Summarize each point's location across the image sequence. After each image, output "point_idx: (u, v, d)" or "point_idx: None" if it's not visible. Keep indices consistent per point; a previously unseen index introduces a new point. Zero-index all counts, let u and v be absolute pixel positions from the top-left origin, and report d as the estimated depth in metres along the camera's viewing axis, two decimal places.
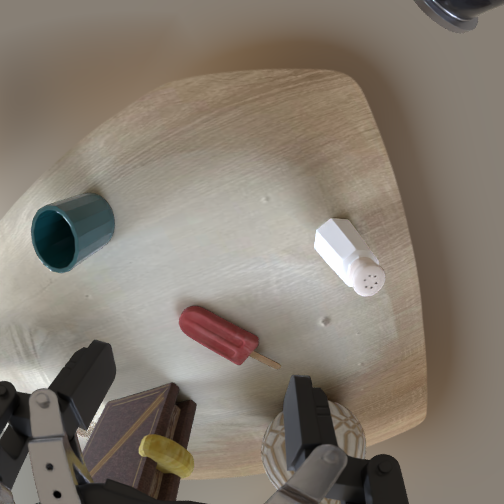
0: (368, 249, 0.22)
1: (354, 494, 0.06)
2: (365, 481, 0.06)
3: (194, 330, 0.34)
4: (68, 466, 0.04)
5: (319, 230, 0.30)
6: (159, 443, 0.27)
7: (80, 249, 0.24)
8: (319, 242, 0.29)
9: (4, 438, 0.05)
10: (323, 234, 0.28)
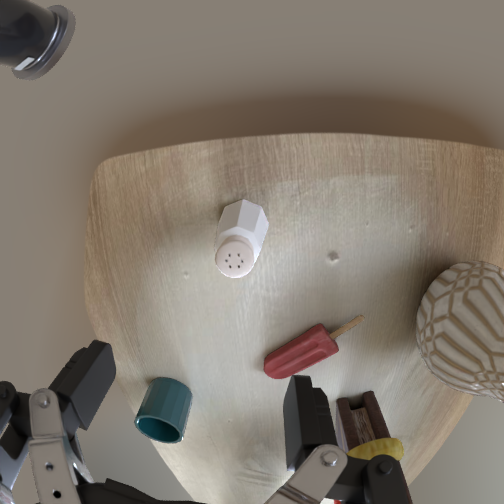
0: (219, 234, 0.22)
1: (354, 494, 0.06)
2: (365, 481, 0.06)
3: (283, 370, 0.35)
4: (68, 466, 0.04)
5: None
6: None
7: (169, 419, 0.31)
8: None
9: (4, 438, 0.05)
10: None
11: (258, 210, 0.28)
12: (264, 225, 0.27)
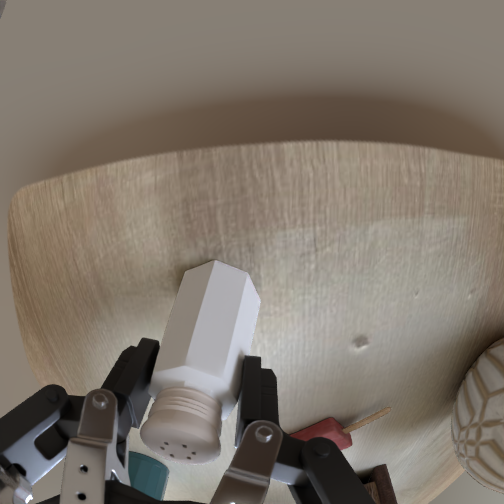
0: None
1: (293, 476, 0.07)
2: (302, 462, 0.07)
3: None
4: (105, 474, 0.05)
5: None
6: None
7: None
8: None
9: (44, 435, 0.07)
10: None
11: (240, 287, 0.15)
12: (251, 317, 0.15)
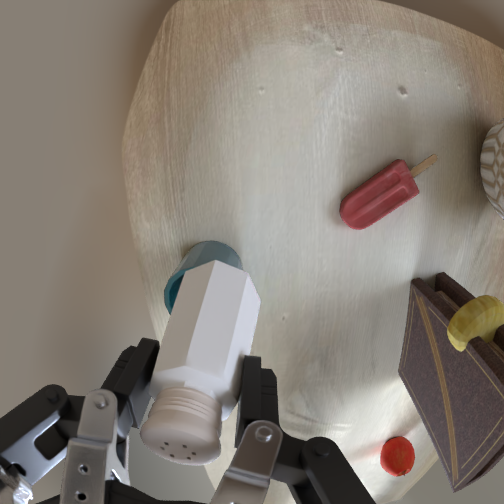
0: (153, 372, 0.10)
1: (293, 476, 0.07)
2: (302, 462, 0.07)
3: (364, 215, 0.30)
4: (105, 474, 0.05)
5: None
6: (461, 317, 0.21)
7: None
8: None
9: (44, 435, 0.07)
10: None
11: (241, 288, 0.15)
12: (251, 317, 0.15)
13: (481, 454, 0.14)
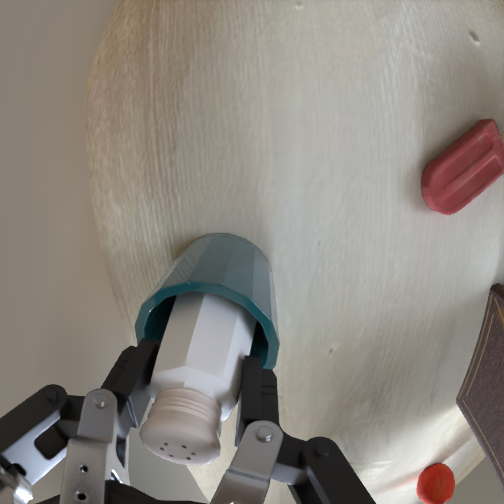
0: None
1: (293, 476, 0.07)
2: (302, 462, 0.07)
3: (455, 194, 0.16)
4: (105, 474, 0.04)
5: None
6: None
7: (249, 295, 0.12)
8: None
9: (44, 435, 0.07)
10: None
11: None
12: (251, 317, 0.15)
13: None
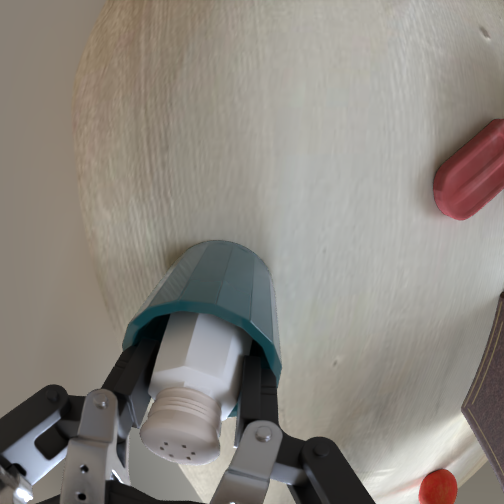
0: None
1: (293, 476, 0.07)
2: (301, 462, 0.07)
3: (469, 198, 0.15)
4: (105, 475, 0.05)
5: None
6: None
7: (248, 315, 0.11)
8: None
9: (44, 435, 0.07)
10: None
11: None
12: None
13: None
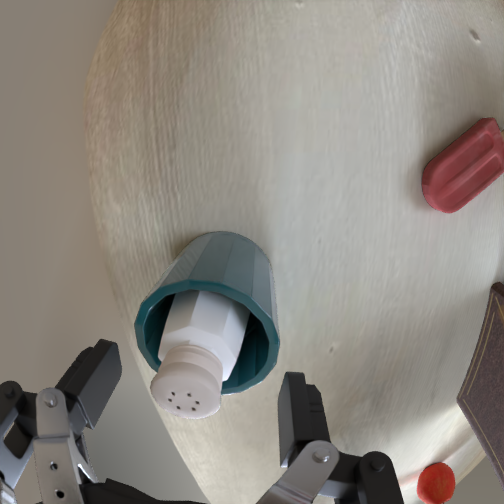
0: (162, 336, 0.12)
1: (347, 491, 0.06)
2: (357, 477, 0.06)
3: (456, 192, 0.16)
4: (73, 467, 0.04)
5: None
6: None
7: (249, 293, 0.12)
8: None
9: (9, 436, 0.06)
10: None
11: None
12: None
13: None
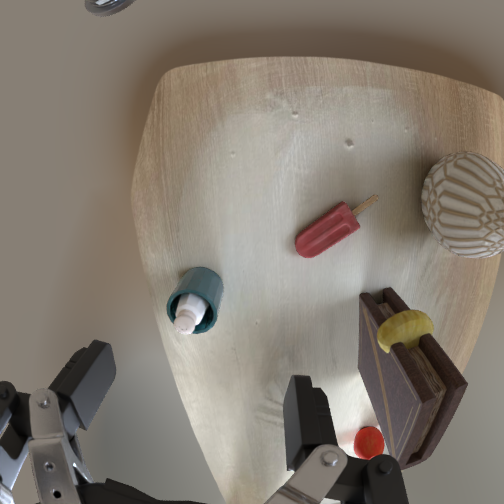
0: (177, 307, 0.36)
1: (354, 494, 0.06)
2: (364, 480, 0.06)
3: (313, 247, 0.41)
4: (69, 467, 0.04)
5: None
6: (385, 327, 0.33)
7: (205, 293, 0.37)
8: None
9: (4, 438, 0.05)
10: None
11: None
12: None
13: (405, 436, 0.25)
